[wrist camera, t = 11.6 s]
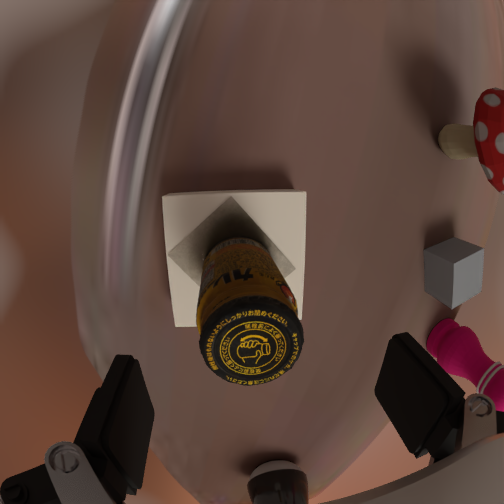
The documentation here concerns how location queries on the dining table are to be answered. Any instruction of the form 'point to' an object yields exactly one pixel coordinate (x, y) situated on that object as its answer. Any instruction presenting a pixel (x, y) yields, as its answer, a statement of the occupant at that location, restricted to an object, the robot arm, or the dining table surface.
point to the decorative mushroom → (480, 137)
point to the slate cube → (453, 271)
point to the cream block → (263, 214)
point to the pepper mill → (467, 359)
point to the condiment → (241, 297)
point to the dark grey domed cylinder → (278, 484)
